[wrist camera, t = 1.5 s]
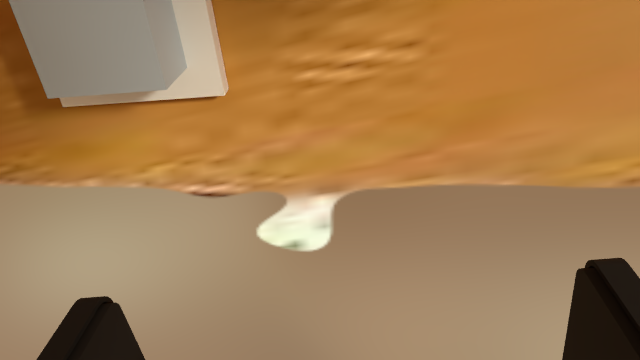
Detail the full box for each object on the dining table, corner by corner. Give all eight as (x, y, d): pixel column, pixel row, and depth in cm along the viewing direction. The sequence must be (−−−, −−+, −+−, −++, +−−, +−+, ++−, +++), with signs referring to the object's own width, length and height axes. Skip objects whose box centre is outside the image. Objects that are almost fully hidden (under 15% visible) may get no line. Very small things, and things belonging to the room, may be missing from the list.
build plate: (3, -82, 28) (-63, -77, 23) (191, -102, 27) (159, -101, 22) (71, 100, 33) (28, 132, 29) (228, 88, 32) (209, 120, 28)
